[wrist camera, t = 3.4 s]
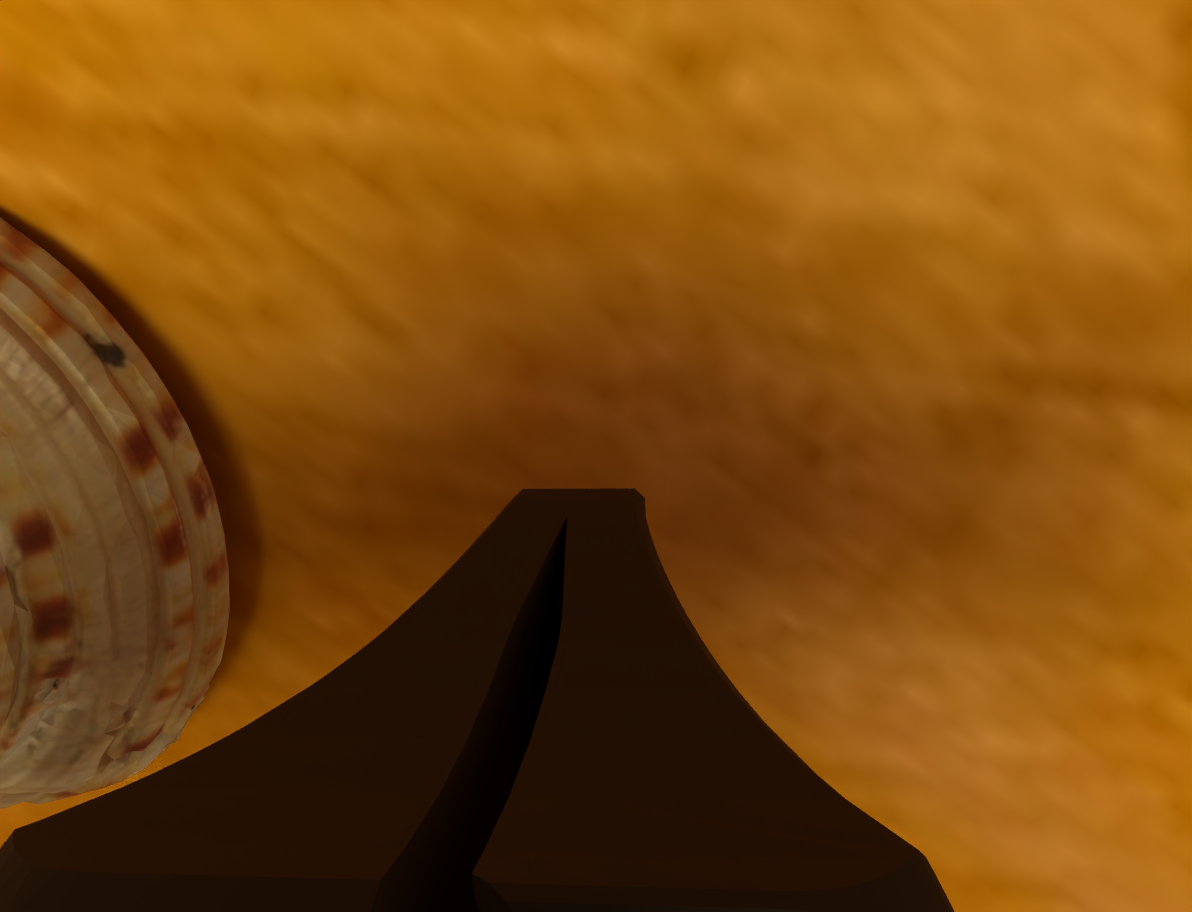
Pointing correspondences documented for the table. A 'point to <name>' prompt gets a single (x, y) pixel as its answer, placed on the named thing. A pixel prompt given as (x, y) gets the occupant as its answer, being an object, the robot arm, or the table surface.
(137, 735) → the seashell
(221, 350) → the table surface
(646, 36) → the table surface
